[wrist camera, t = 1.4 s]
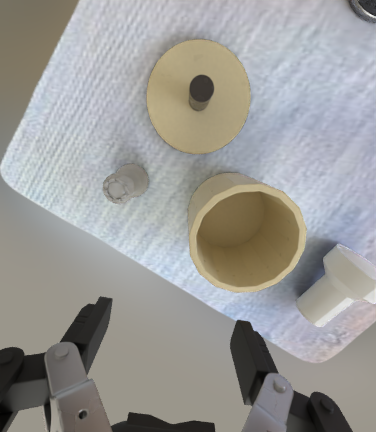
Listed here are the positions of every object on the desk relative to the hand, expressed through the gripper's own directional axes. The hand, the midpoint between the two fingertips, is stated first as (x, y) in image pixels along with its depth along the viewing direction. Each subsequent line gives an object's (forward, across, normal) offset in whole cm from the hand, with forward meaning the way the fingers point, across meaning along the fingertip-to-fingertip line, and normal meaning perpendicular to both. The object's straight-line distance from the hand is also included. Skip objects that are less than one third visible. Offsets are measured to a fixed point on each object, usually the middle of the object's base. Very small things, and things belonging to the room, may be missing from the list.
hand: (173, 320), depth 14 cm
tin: (+19, -6, -4) cm, 20 cm away
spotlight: (+19, -24, +3) cm, 31 cm away
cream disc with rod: (+18, +1, -17) cm, 25 cm away
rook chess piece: (+19, +7, -5) cm, 21 cm away
